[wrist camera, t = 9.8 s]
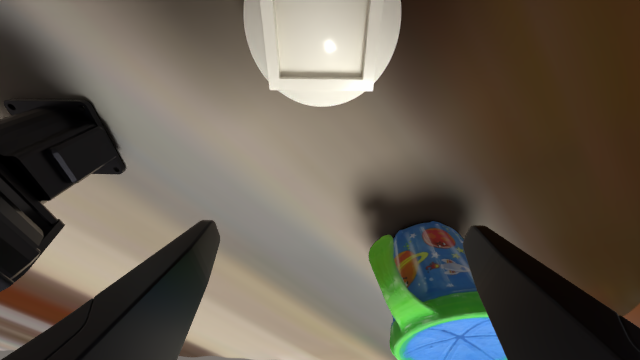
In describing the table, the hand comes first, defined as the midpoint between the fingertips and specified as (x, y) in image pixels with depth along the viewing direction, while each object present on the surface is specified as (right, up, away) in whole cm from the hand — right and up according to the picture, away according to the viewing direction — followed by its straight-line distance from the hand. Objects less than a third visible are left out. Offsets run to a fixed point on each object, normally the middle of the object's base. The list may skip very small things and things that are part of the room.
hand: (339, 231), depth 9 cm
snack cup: (+10, -5, +18) cm, 21 cm away
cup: (0, +12, +7) cm, 13 cm away
